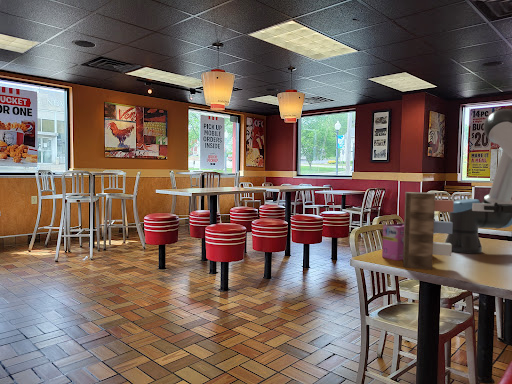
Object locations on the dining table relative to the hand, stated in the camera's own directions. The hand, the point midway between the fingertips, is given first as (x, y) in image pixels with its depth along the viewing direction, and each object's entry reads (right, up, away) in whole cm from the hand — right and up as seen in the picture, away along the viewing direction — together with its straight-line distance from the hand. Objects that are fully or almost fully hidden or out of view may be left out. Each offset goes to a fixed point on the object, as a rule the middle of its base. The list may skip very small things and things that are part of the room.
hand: (472, 206), depth 137 cm
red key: (-10, -2, +4) cm, 11 cm away
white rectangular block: (-11, -18, +5) cm, 21 cm away
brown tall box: (-17, -22, +7) cm, 29 cm away
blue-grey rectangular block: (-10, -10, +4) cm, 15 cm away
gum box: (-14, -22, +24) cm, 35 cm away
